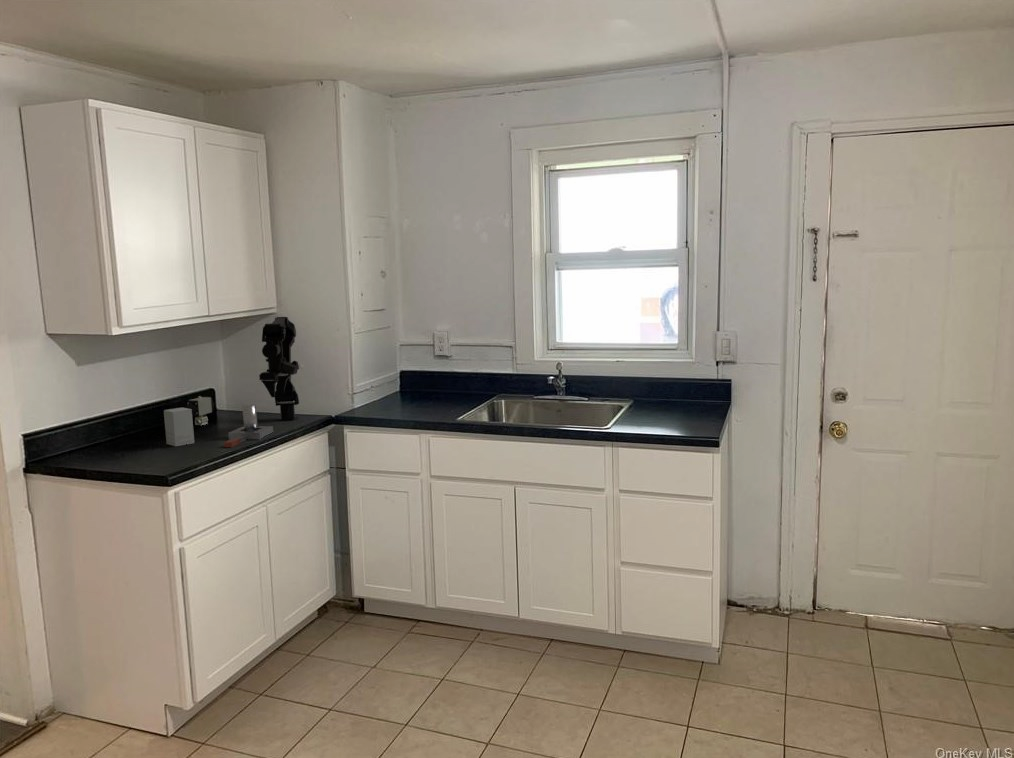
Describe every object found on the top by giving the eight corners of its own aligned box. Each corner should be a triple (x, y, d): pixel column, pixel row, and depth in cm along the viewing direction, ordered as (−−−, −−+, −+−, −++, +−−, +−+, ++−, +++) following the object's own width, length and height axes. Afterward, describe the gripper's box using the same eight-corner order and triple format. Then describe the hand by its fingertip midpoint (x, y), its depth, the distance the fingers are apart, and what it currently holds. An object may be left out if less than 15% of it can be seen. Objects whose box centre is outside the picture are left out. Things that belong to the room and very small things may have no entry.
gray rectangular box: (243, 432, 301) (242, 426, 301) (273, 432, 300) (272, 426, 300) (211, 447, 277) (211, 440, 277) (244, 447, 275) (243, 440, 275)
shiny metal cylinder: (245, 434, 297) (242, 405, 295) (258, 432, 298) (255, 404, 296) (244, 436, 292) (242, 407, 291) (258, 435, 293) (255, 406, 292)
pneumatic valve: (216, 422, 324) (213, 393, 322) (196, 428, 313) (194, 398, 311) (205, 422, 325) (202, 393, 324) (185, 427, 314) (182, 398, 313)
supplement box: (195, 443, 285) (192, 408, 283) (175, 446, 279) (172, 412, 278) (185, 440, 290) (183, 406, 288) (165, 444, 284) (162, 409, 283)
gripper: (285, 358, 295) (288, 399, 297) (304, 352, 313) (306, 391, 315) (257, 358, 296) (260, 399, 298) (277, 353, 315) (279, 391, 317)
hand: (277, 395), depth 307 cm, fingers open, 9 cm apart
